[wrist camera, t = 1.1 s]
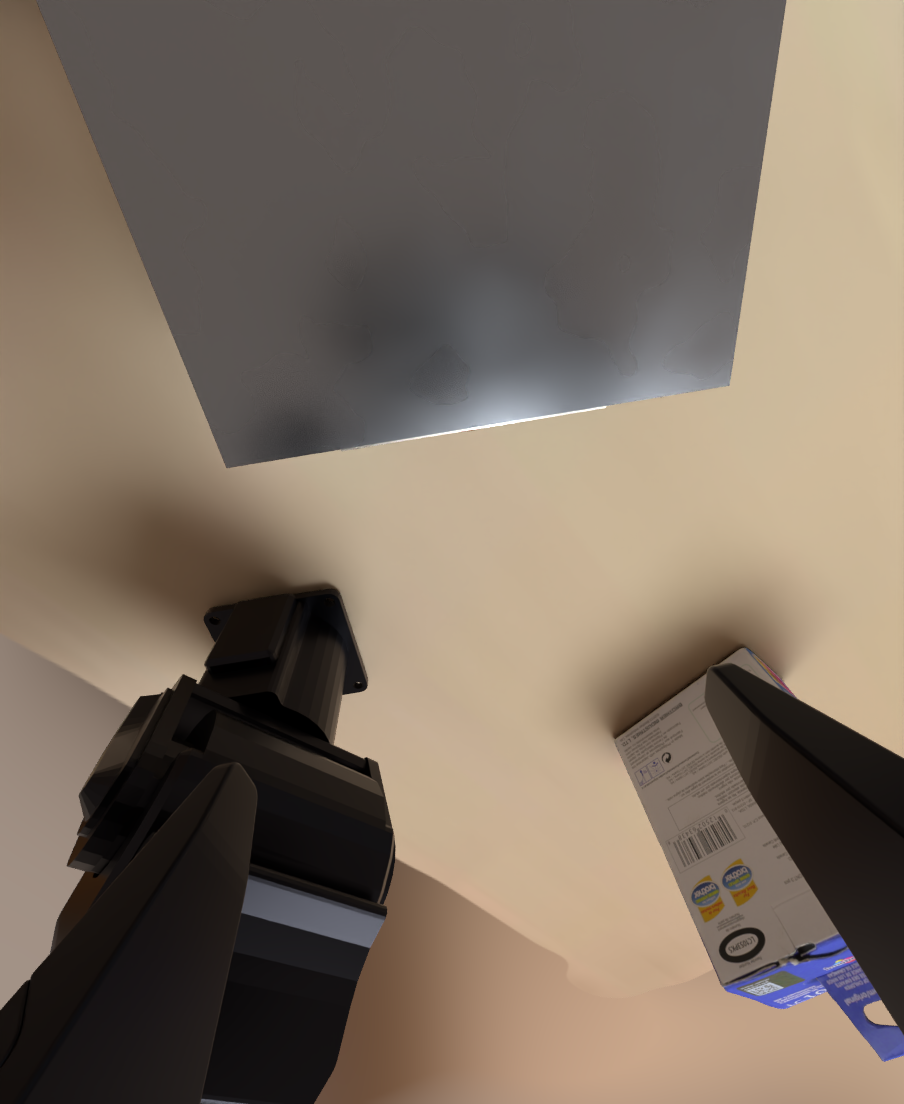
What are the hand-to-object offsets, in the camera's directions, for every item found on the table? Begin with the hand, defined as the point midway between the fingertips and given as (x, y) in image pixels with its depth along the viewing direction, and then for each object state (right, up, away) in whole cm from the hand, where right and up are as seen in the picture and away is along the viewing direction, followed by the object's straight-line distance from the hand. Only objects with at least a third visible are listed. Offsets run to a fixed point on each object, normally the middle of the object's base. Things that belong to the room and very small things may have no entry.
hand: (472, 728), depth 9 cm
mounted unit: (-1, +14, +7) cm, 15 cm away
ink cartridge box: (+15, -6, +20) cm, 26 cm away
